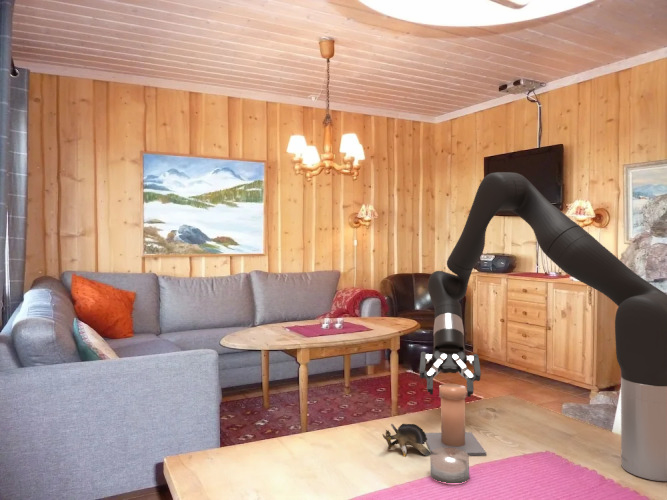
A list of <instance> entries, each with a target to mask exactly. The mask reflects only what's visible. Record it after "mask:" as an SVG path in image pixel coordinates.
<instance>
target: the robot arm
mask: <svg viewBox="0 0 667 500" xmlns="http://www.w3.org/2000/svg"><path fill="white" fill-rule="evenodd" d="M501 211H503V212H504V211H505V212H506V211H510V212H512V213H513V214H515V215H517V216H518V217H520V218H521V219H522V220H523V221H525V223H526V224H528V225H529V227H530V228H531V229H532V231H533V233H534V236H535V238H536V239H535V240H536V241H537V243H538V247H540V249H541V250H542V253H544V254H545V256H546V257H547V258H548V259H549V260H551V261H552V262H553V263H554V264H555V265H556V266H557V267H558V268H559V269H560V270H562V271H563V272H564V273H566V274H567V275H569V276H570V277H572V278H574V279H576V280H577V281H579V282H581V283H583V284H585V285H587V286H588V287H590V288H592V289H595V290H596V291H598V292H600V293H601V294H603V295H604V296H606V297H607V298H608V299H609V300H611V301H612V302H613V303H614V304H615V305H616V306H617V309H616V313H615V316H614V317H615V318H614V334H615V337H614V339H615V352H616V353H615V355H616V361H617V364H618V366H619V368H620V418H621V419H620V425H621V426H620V427H621V428H620V429H621V431H620V435H621V436H620V440H621V441H620V446H621V447H620V448H621V453H620V458H621V467H622V468H623V470H625V471H626V472H628V473H630V474H631V475H634V476H636V477H639V478H642V479H647V480H651V481H657V482H667V294H666V292H664V291H662V290H661V289H660V288H658V287H656V286H655V285H653V284H652V283H651V282H649V281H647V280H645V278H643V277H641V276H640V275H639V274H637V273H636V272H634V270H632V269H631V268H629V266H627V265H626V264H625V263H624V262H623V261H622V260H620V259H619V258H618V257H616V255H614V254H613V253H612V252H611V251H610V250H609V249H607V247H606V246H604V245H603V244H602V243H600V242H599V241H598V240H597V239H596V238H595V237H594V236H592V235H591V234H590V233H589V232H588V231H586V229H584V228H583V227H581V225H579V224H577V222H575V221H573V219H571V218H570V217H569V216H567V214H565V213H564V212H562V210H560V209H559V208H557V207H556V206H555V205H553V203H551V202H550V201H549V200H548V199H547V198H546V197H545V196H544V195H543V194H542V193H541V192H540V191H539V190H538V189H537V188H536V186H534V185H533V183H532V182H530V181H529V179H527V178H526V176H524V175H523V174H520V173H517V172H510V171H508V172H504V171H503V172H502V171H501V172H500V171H497V172H491V173H489V174H487V175H486V176H484V178H482V180H481V181H480V183H479V185H478V188H477V191H476V194H475V196H474V199H473V202H472V204H471V207H470V210H469V213H468V216H467V219H466V221H465V225H464V227H463V230H462V232H461V234H460V236H459V238H458V240H457V242H456V243H455V246H454V247H453V249H452V251H451V253H450V254H449V256H448V258H447V260H446V266H447V268H448V269H449V271H450V272H452V273H449V272H446V271H442V270H435V271H434V272H432V273H431V274H430V276H429V278H428V281H427V291H428V293H429V297H430V299H431V302H432V303H431V304H432V305H433V308H434V323H433V353H432V354H429V353H426V351H421V353H420V359H419V360H420V361H419V370H418V371H419V378H421V379H425V380H426V391H427V393H429V395H433V394H434V378H435V377H436V376H438V375H439V373H440V372H442V373H444V374H447V373H451V374H457V373H458V374H459V375H460V376H461V377H463V378H464V379H465V381H466V398H467V397H468V398H471V395H473V394H474V382H479V381H481V375H482V372H481V365H480V359H479V354H478V353H474V354H473V355H467V354H466V351H465V331H464V324H463V323H464V322H463V312H462V311H463V310H462V305H461V303H460V302H459V301H461V300H463V298H464V297H465V296H466V294H467V290H468V285H469V282H470V277H471V274H472V272H473V270H474V268H475V267H476V266H477V263H478V261H479V260H480V258H481V256H482V254H483V252H484V249H485V246H486V245H485V244H486V232H487V228H488V226H489V224H490V222H491V221H492V219H493V218H494V216H496V214H498V212H501ZM430 361H432V362H433V364H432V366H431V368H430V369H429V370H428V371H427V370H426V364H429V362H430ZM467 362H469V364H470V365H471V366H472V367H473V372H474V373H472V372H471V371H470V370H469V369H468V367H467V365H466V364H467Z"/></svg>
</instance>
